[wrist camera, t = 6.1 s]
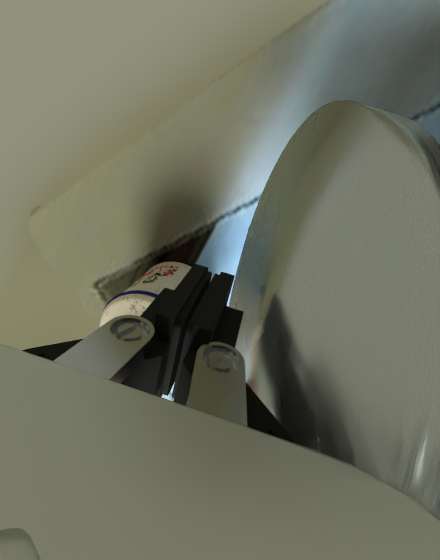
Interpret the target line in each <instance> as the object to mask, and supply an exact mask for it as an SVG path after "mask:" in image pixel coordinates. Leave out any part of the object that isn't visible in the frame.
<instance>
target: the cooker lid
mask: <svg viewBox="0 0 440 560" xmlns="http://www.w3.org/2000/svg"><path fill="white" fill-rule="evenodd" d="M229 307H231V308H234V309H237V310H241V311H244V313H243V317H242V321H241V325H240V329H239V333H238V338H237V342H236V346H235V348H236V349H237V350H238V351H239V352H240V353H241V355H242V356H243V358H244V361H245V376H246V383H247V384H248V385H249V387H250V388H251V389H252V390H253V391H254V393H255V394H256V395H257V396H258V397H259V399H260V400H261V401H262V402H263V403H264V405H265V406H266V407H267V408H268V409H269V411H270V412H271V413H272V414H273V416H274V417H275V418H276V419H277V420H278V422H279V423H280V424H281V425H282V426H283V428H284V429H285V430H286V431H287V432H288V434H289V435H290V436H291V437H292V439H293V440H294V442H295V443H296V444H298V445H301V446H304V447H307V448H309V449H312V450H314V451H317V452H320V453H322V454H325V455H328V456H330V457H333V458H336V459H338V460H341V461H344V462H346V463H349V464H351V465H353V466H355V467H358V468H360V469H362V470H364V471H366V472H368V473H370V474H372V475H374V476H376V477H377V478H378V479H380V480H381V481H382V482H384V483H386V484H388V485H390V486H392V487H394V488H396V489H398V490H400V491H402V492H403V493H405V494H406V495H408V496H409V497H411V498H413V499H414V500H416V501H417V502H418V503H420V504H421V505H423V506H424V507H426V508H427V509H428V510H429V511H431V512H432V513H433V514H434V515H436V516H437V517H438V518H439V519H440V145H439V143H438V142H437V140H436V139H435V138H434V137H433V136H432V135H430V134H429V133H428V132H427V131H426V130H425V129H423V128H422V127H421V126H420V125H419V124H417V123H416V122H415V121H413V120H410V119H408V118H405V117H403V116H400V115H398V114H395V113H392V112H388V111H385V110H381V109H378V108H374V107H371V106H367V105H364V104H360V103H356V102H353V101H349V100H344V101H334V102H331V103H329V104H326V105H324V106H322V107H321V108H319V109H318V110H317V111H315V112H314V113H313V114H311V115H310V116H309V117H308V118H307V120H306V121H305V122H304V123H303V124H302V125H301V126H300V127H299V128H298V130H297V131H296V132H295V134H294V135H293V136H292V138H291V139H290V141H289V142H288V144H287V145H286V147H285V149H284V150H283V152H282V154H281V155H280V157H279V159H278V161H277V163H276V165H275V166H274V169H273V171H272V173H271V175H270V177H269V179H268V181H267V183H266V186H265V188H264V190H263V193H262V195H261V197H260V200H259V203H258V205H257V208H256V210H255V213H254V216H253V219H252V222H251V225H250V227H249V229H248V233H247V236H246V240H245V243H244V247H243V250H242V254H241V257H240V261H239V265H238V268H237V273H236V277H235V281H234V285H233V289H232V294H231V298H230V303H229Z"/></svg>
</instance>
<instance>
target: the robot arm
mask: <svg viewBox="0 0 440 560" xmlns="http://www.w3.org/2000/svg"><path fill="white" fill-rule="evenodd" d="M211 275H212V273H211V272H208V268H207V267H204V266H200V265H197V264H194V265H193V266H192V268H191V269H190V270H189V271H188V273H187V274H186V275H185V277H184V278H183V279H182V281H181V282H180V283H179V284H178V286H177V287H176V288H175V290H172V289H169V288H164V289H163V290H162V291H161V292H160V293H159V295H158V296H157V297H156V298H155V299H154V301H153V302H152V303H151V304H150V305H149V306H148V308H147V309H146V310H145V311H144V312H143V313H142V315H141V316H135V315H122V316H118V317H115V318H113V319H111V320H110V321H108V322H107V323H105V324H104V325H103V326H101V327H100V328H98V329H97V330H96V331H94V332H93V333H92V334H90V335H89V336H87V337H86V338H84V339H80V340H74V341H69V342H63V343H58V344H53V345H47V346H41V347H36V348H30V349H26V350H22V351H21V350H18V349H15V348H12V347H9V346H6V345H3V344H0V560H440V519H439V518H438V517H437V516H436V515H434V514H433V513H432V512H431V511H429V510H428V509H427V508H426V507H424V506H423V505H421V504H420V503H418V502H417V501H416V500H414V499H413V498H411V497H409V496H408V495H406V494H405V493H403V492H402V491H400V490H398V489H396V488H394V487H392V486H390V485H388V484H386V483H384V482H382V481H381V480H380V479H378V478H377V477H376V476H374V475H372V474H370V473H368V472H366V471H364V470H362V469H360V468H358V467H355V466H353V465H351V464H349V463H346V462H344V461H341V460H338V459H336V458H333V457H330V456H328V455H325V454H322V453H320V452H317V451H314V450H312V449H309V448H307V447H304V446H301V445H298V444H296V443H295V442H294V440H293V439H292V437H291V436H290V435H289V434H288V432H287V431H286V430H285V429H284V428H283V426H282V425H281V424H280V423H279V422H278V420H277V419H276V418H275V417H274V416H273V414H272V413H271V412H270V411H269V409H268V408H267V407H266V406H265V405H264V403H263V402H262V401H261V400H260V399H259V397H258V396H257V395H256V394H255V393H254V391H253V390H252V389H251V388H250V387H249V385H248V384H247V383H246V376H245V361H244V358H243V356H242V355H241V353H240V352H239V351H238V350H237V349H236V348H235V346H236V342H237V338H238V333H239V329H240V325H241V321H242V317H243V313H244V311H241V310H237V309H234V308H231V307H227V306H226V305H227V301H228V298H229V294H230V291H231V287H232V283H233V280H234V275H231V274H227V273H224V272H221V273H220V275H218V274H215V275H214V277H213V279H212V280H211ZM210 280H211V282H210ZM174 382H175V384H174ZM173 384H174V389H173V393H172V397H173V398H174V402H173V401H170V400H167V399H164V398H161V396H162V394H164V395H167V396H168V394H169V392H170V390H171V388H172V386H173Z"/></svg>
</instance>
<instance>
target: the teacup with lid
mask: <svg viewBox="0 0 440 560" xmlns="http://www.w3.org/2000/svg"><path fill="white" fill-rule="evenodd" d="M191 268H192V267H190V266H188V265H186V264H183V263H179V262H163V263H160V264H157V265H155V266H154V267H152V268H151V269H150V270H148V271H147V272H146V273H145V274H144V275H143V276H142V277H140V278H139V279H138V280H137V281H136V282H135V283H134V284H132V285H131V286H130V287H129V288H128V289H127V290H126V291H124V292H123V293H121V294H118V295H117V296H115V297H114V298H112V299H111V300H110V301H109V302H108V303H107V305H106V306H105V308H104V310H103V313H102V316H101V320H100V327H101V326H103V325H104V324H105V323H107V322H108V321H110V320H111V319H113V318H115V317H118V316H122V315H135V316H141V315H142V313H143V312H144V311H145V310H146V309H147V308H148V306H149V305H150V304H151V303H152V302H153V301H154V299H155V298H156V297H157V296H158V295H159V293H160V292H161V291H162V290H163V289H164V288H169V289H172V290H175V288H176V287H177V286H178V284H179V283H180V282H181V281H182V279H183V278H184V277H185V275H186V274H187V273H188V271H189V270H190V269H191Z"/></svg>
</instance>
